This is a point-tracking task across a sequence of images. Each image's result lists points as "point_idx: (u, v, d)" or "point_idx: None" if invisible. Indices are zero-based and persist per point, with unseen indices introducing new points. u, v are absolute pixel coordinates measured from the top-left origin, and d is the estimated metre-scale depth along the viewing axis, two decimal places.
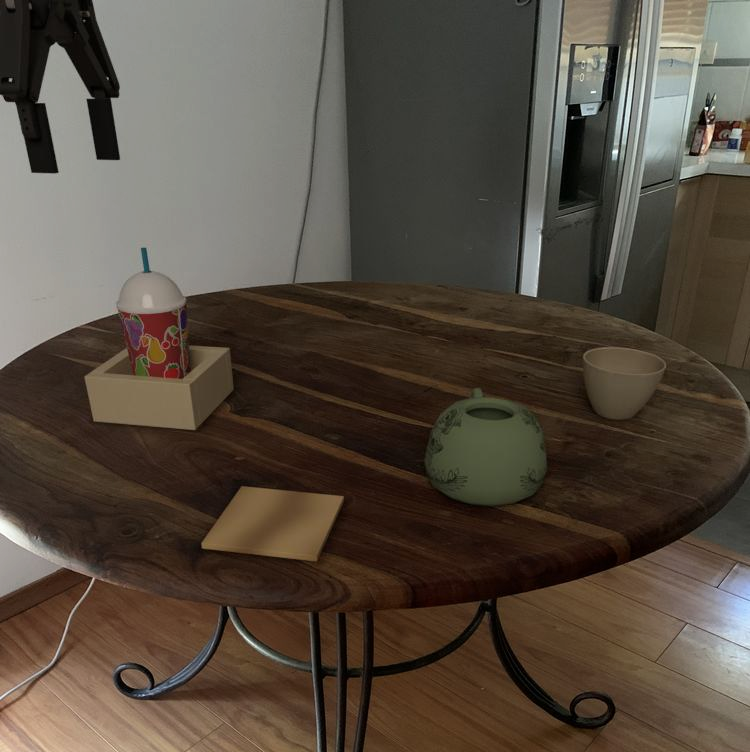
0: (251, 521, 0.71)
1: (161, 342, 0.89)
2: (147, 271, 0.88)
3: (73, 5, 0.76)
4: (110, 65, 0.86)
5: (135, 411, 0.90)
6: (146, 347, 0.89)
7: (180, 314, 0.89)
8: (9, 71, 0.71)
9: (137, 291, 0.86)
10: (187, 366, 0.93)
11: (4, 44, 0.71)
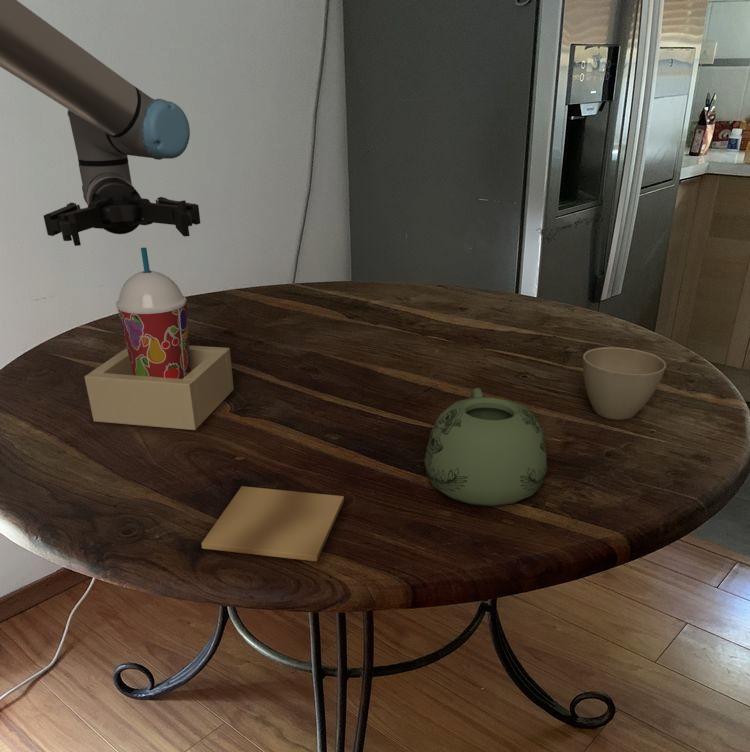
0: (251, 521, 0.71)
1: (161, 342, 0.89)
2: (147, 271, 0.88)
3: None
4: None
5: (135, 411, 0.90)
6: (146, 347, 0.89)
7: (180, 314, 0.89)
8: None
9: (137, 291, 0.86)
10: (187, 366, 0.93)
11: None
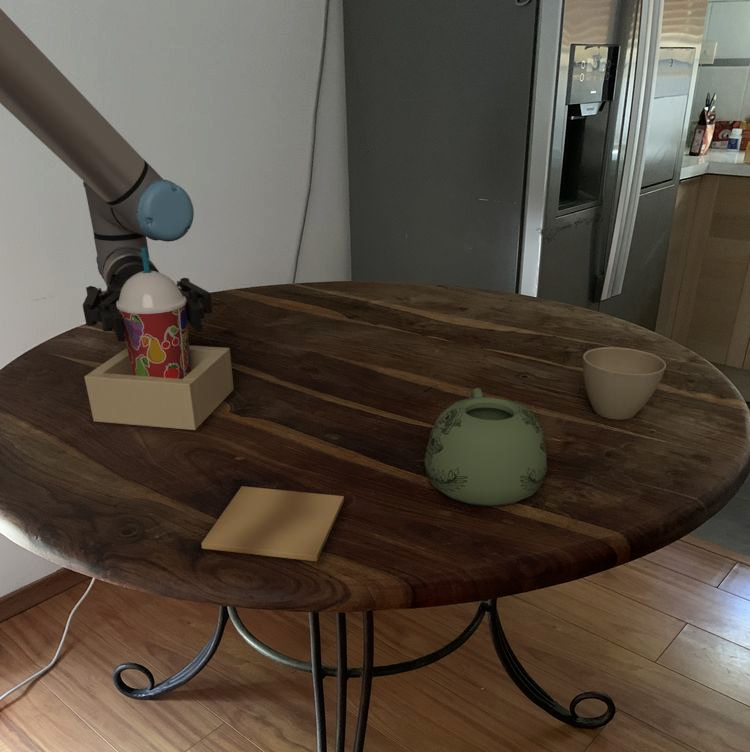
0: (251, 521, 0.71)
1: (161, 342, 0.89)
2: (147, 271, 0.88)
3: None
4: None
5: (135, 411, 0.90)
6: (146, 347, 0.89)
7: (180, 314, 0.89)
8: None
9: (137, 291, 0.86)
10: (187, 366, 0.93)
11: None
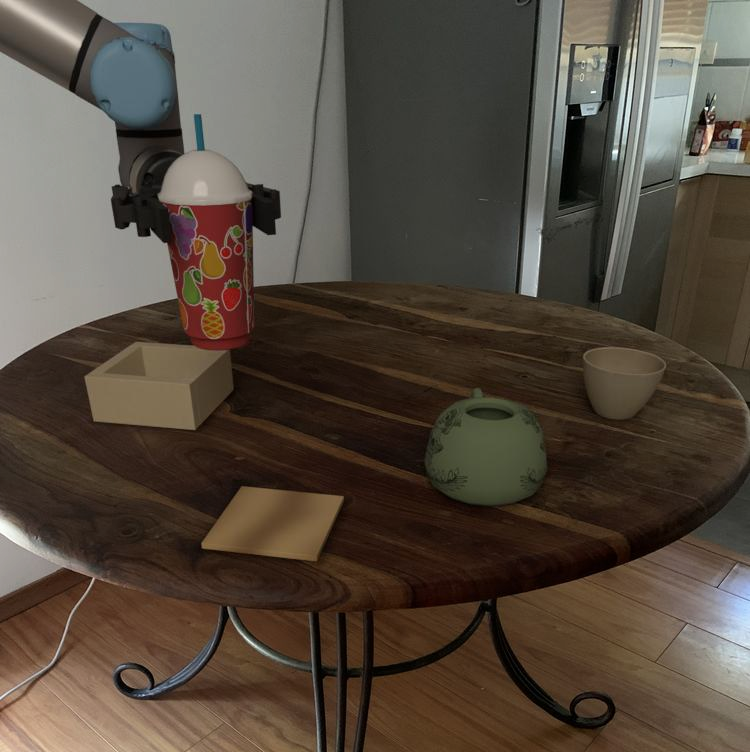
0: (251, 521, 0.71)
1: (220, 248, 0.65)
2: (201, 149, 0.64)
3: None
4: None
5: (135, 411, 0.90)
6: (199, 255, 0.65)
7: (246, 210, 0.65)
8: None
9: (189, 174, 0.62)
10: (250, 286, 0.69)
11: None
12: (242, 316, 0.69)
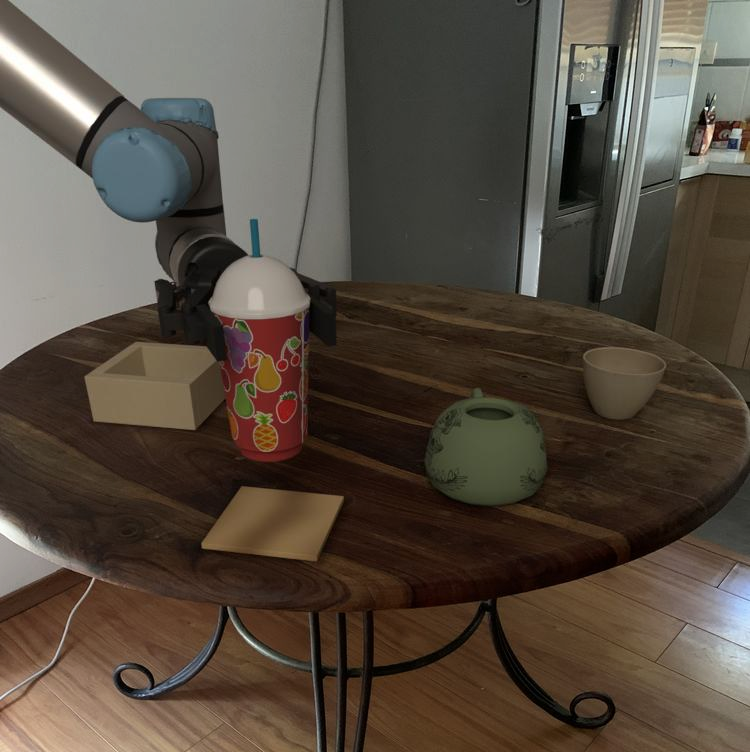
0: (251, 521, 0.71)
1: (276, 361, 0.60)
2: (257, 255, 0.59)
3: None
4: None
5: (135, 411, 0.90)
6: (254, 369, 0.60)
7: (304, 319, 0.60)
8: None
9: (245, 285, 0.57)
10: (306, 395, 0.64)
11: None
12: (297, 427, 0.64)
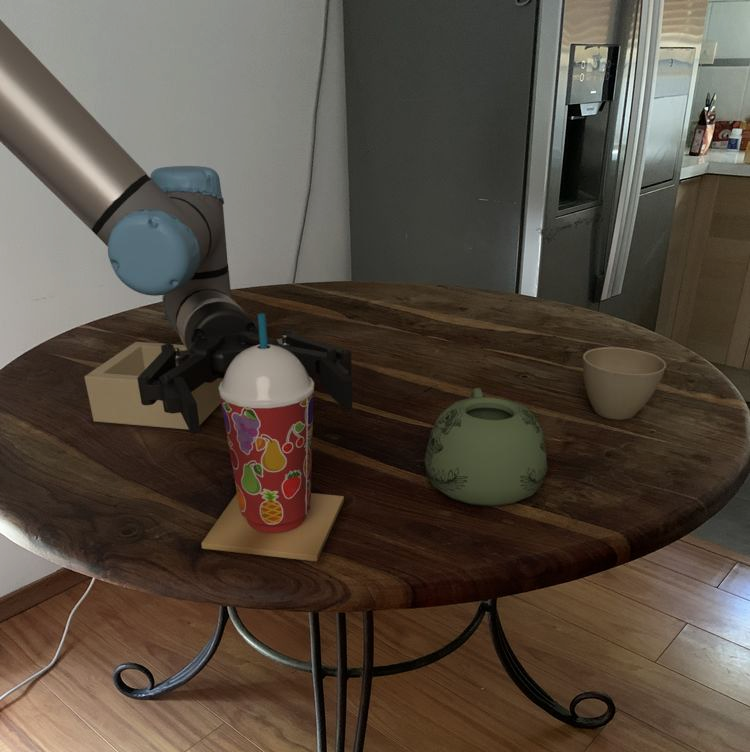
0: None
1: (282, 444, 0.63)
2: (265, 346, 0.62)
3: None
4: None
5: (135, 411, 0.90)
6: (261, 451, 0.63)
7: (308, 405, 0.64)
8: None
9: (253, 377, 0.61)
10: (309, 471, 0.68)
11: None
12: (301, 501, 0.68)
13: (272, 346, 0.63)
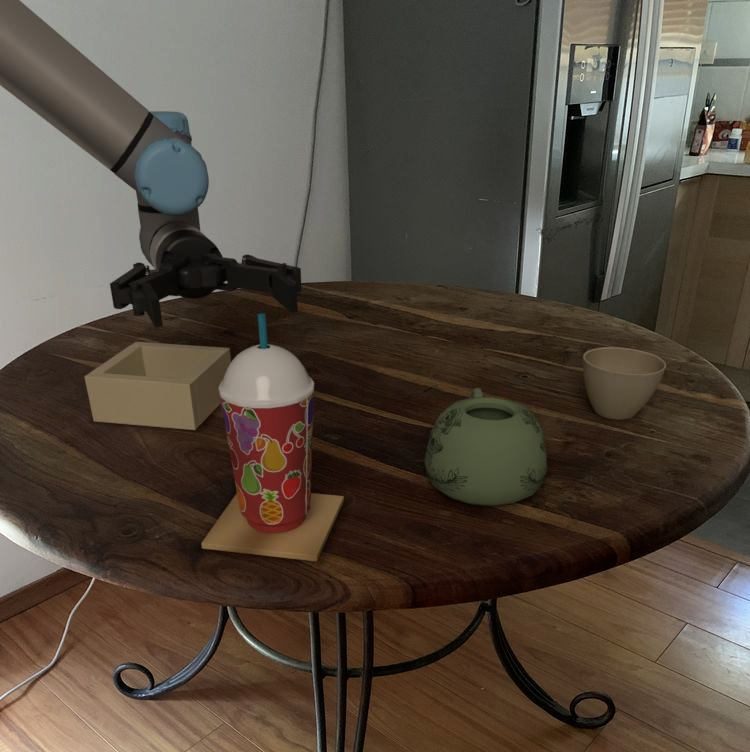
0: None
1: (282, 444, 0.63)
2: (265, 346, 0.62)
3: None
4: None
5: (135, 411, 0.90)
6: (261, 451, 0.63)
7: (308, 405, 0.64)
8: None
9: (253, 377, 0.61)
10: (309, 471, 0.68)
11: None
12: (301, 501, 0.68)
13: (272, 346, 0.63)
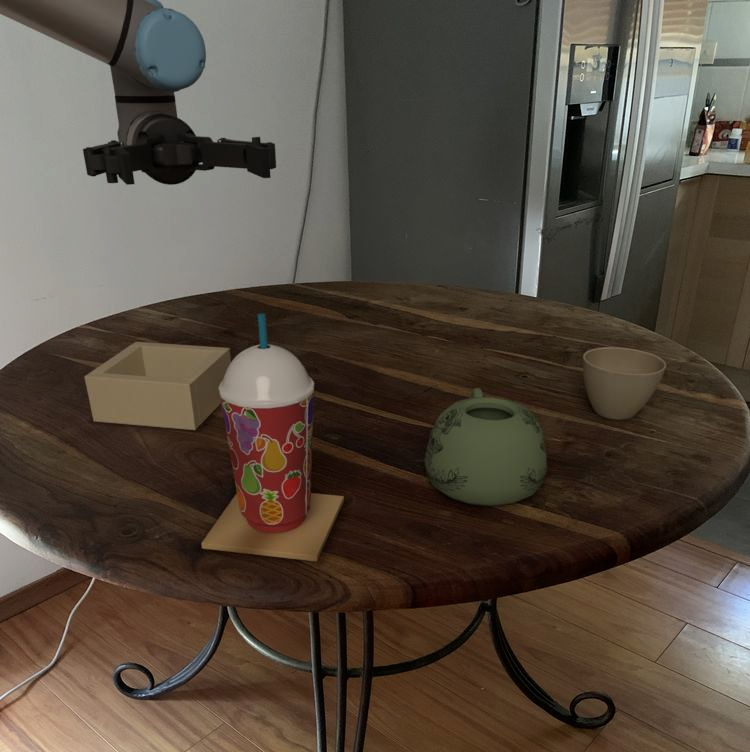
0: None
1: (282, 444, 0.63)
2: (265, 346, 0.62)
3: None
4: None
5: (135, 411, 0.90)
6: (261, 451, 0.63)
7: (308, 405, 0.64)
8: None
9: (253, 377, 0.61)
10: (309, 471, 0.68)
11: None
12: (301, 501, 0.68)
13: (272, 346, 0.63)
